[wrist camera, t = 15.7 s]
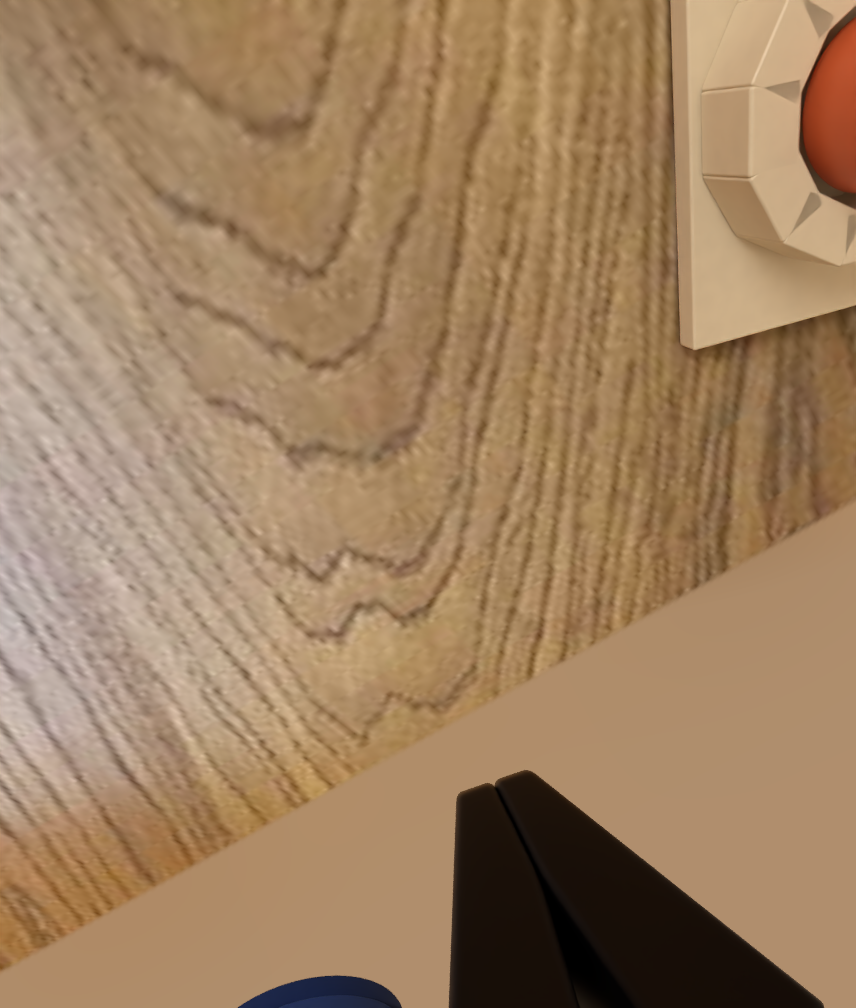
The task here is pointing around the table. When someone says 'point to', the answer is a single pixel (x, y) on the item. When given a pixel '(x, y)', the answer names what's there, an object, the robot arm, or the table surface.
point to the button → (833, 112)
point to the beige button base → (754, 170)
